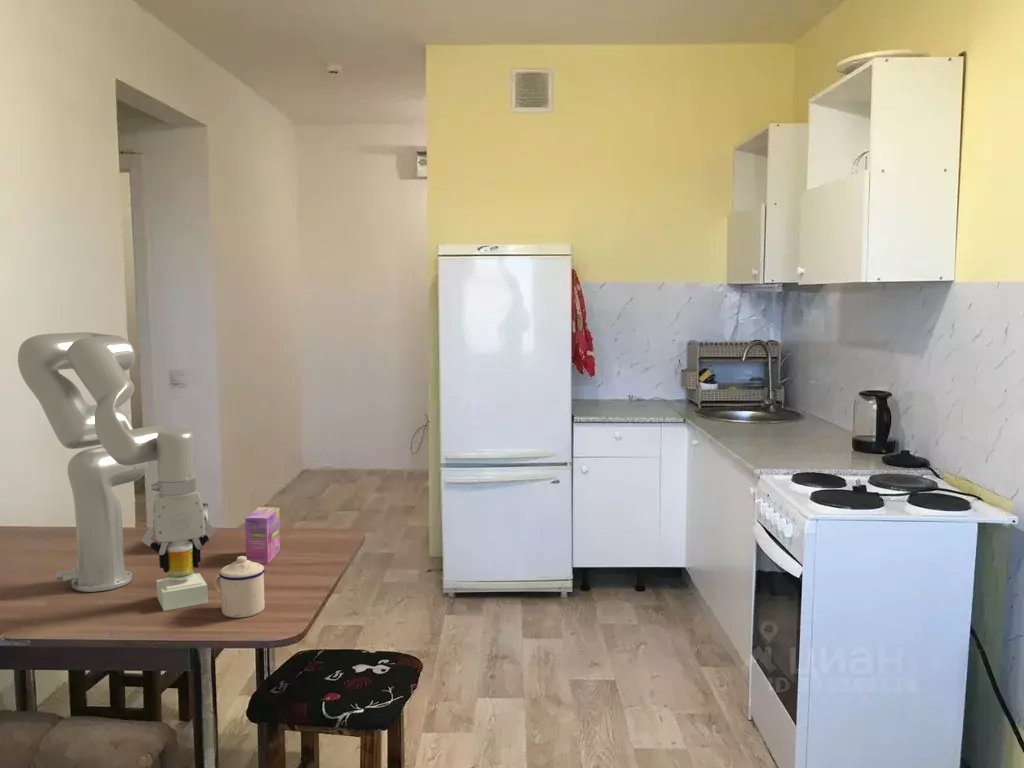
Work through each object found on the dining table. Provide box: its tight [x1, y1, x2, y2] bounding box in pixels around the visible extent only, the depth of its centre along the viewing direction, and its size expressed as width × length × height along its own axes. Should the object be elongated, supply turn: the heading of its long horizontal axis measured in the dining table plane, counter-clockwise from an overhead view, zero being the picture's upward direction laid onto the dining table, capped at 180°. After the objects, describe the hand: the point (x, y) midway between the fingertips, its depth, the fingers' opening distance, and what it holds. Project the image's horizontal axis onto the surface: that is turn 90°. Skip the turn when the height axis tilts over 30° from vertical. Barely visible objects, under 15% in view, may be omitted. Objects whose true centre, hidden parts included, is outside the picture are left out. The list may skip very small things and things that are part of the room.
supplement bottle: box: [166, 540, 195, 580], centre depth 180 cm, size 5×5×10 cm
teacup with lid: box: [214, 555, 266, 619], centre depth 176 cm, size 12×9×12 cm
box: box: [244, 506, 281, 565], centre depth 210 cm, size 10×6×12 cm, turn 179°
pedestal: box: [156, 572, 209, 612], centre depth 181 cm, size 9×9×4 cm
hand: (180, 567), depth 181 cm, fingers closed on supplement bottle, 5 cm apart
